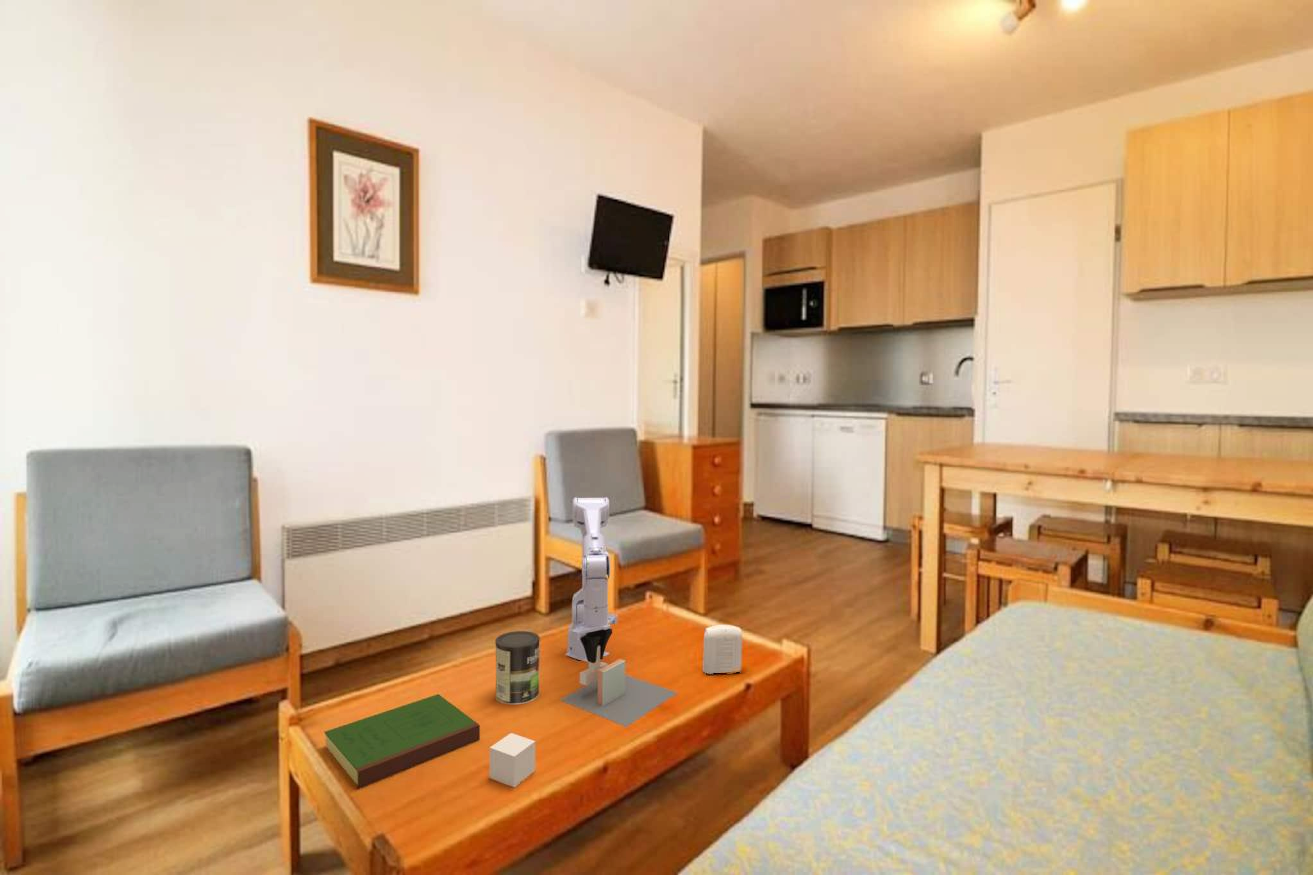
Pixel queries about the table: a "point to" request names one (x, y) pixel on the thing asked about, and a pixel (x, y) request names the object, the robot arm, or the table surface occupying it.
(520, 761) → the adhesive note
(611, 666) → the tile
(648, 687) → the mat
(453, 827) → the table surface
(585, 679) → the beige t-shaped block
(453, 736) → the hardcover book
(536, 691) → the coffee can
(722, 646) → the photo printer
